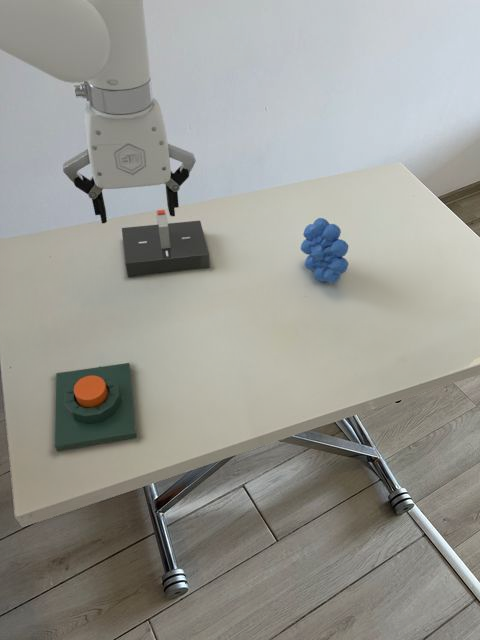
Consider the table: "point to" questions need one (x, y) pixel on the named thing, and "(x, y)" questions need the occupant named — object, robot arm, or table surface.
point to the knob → (163, 229)
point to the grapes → (324, 251)
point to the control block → (94, 409)
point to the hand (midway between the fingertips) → (138, 214)
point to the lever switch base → (152, 259)
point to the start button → (90, 391)
